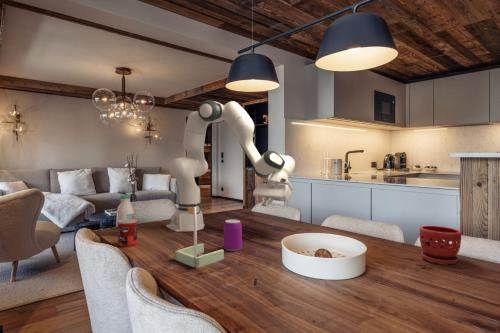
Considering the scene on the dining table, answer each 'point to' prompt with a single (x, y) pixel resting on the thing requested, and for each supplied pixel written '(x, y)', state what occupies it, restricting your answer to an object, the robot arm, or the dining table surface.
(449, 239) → the plant pot
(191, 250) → the cup corral
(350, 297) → the dining table surface
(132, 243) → the canned food
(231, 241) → the beverage can
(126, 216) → the milk bottle
